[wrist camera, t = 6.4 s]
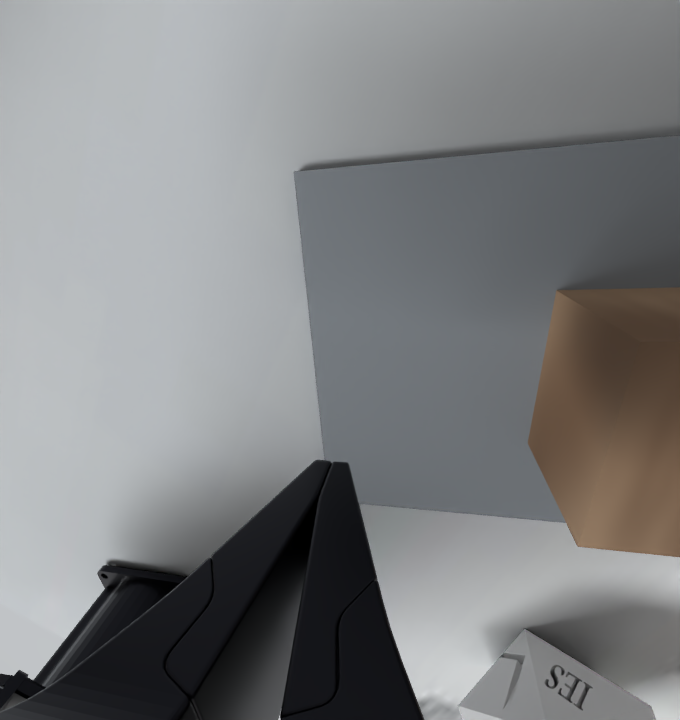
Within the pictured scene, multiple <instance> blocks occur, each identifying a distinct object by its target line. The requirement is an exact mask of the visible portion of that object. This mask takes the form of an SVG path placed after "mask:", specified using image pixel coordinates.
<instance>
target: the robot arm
mask: <svg viewBox="0 0 680 720" xmlns="http://www.w3.org/2000/svg"><path fill="white" fill-rule="evenodd" d="M97 574H98V576H99V578H100V580H101V582H102V584H103V586H104V588H105V590H104V591H103V592H102V593H101V595H100V596H99V597H98V598H97V600H96V601H95V602H94V604H93V605H92V606H91V607H90V609H89V610H88V611H87V613H86V614H85V615H84V616H83V618H82V619H81V620H80V621H79V623H78V624H77V625H76V627H75V628H74V629H73V630H72V632H71V633H70V634H69V636H68V637H67V638H66V639H65V641H64V642H63V643H62V644H61V646H60V647H59V648H58V650H57V651H56V652H55V653H54V655H53V656H52V657H51V659H50V660H49V661H48V662H47V664H46V665H45V666H44V667H43V669H42V670H41V671H40V673H39V674H38V675H37V676H36V678H35V679H34V680H31V679H30V678H28V674H26V673H24V672H22V671H21V670H19V671H18V672H17V673H16V674H15V675H14V676H12V675H11V676H10V675H5V674H0V720H278V718H279V715H280V718H281V720H424V717H423V715H422V712H421V709H420V707H419V704H418V702H417V699H416V696H415V694H414V691H413V688H412V686H411V683H410V681H409V678H408V675H407V673H406V670H405V668H404V665H403V662H402V659H401V657H400V654H399V651H398V648H397V645H396V642H395V639H394V637H393V634H392V631H391V628H390V624H389V621H388V617H387V614H386V610H385V607H384V603H383V599H382V595H381V591H380V587H379V583H378V581H377V575H376V571H375V567H374V563H373V559H372V555H371V551H370V547H369V543H368V539H367V535H366V531H365V527H364V523H363V519H362V514H361V510H360V506H359V502H358V498H357V494H356V490H355V486H354V482H353V478H352V474H351V470H350V466H349V463H348V462H339V461H334V462H331V461H326V460H316V461H314V462H313V463H312V464H311V465H310V466H309V467H307V468H306V469H305V470H304V471H303V472H302V473H301V474H300V475H299V476H298V477H297V478H295V479H294V480H293V481H292V482H291V483H290V484H289V485H288V486H287V487H286V488H285V489H283V490H282V491H281V492H280V493H279V494H278V495H277V496H276V497H275V498H274V499H273V500H271V501H270V502H269V503H268V504H267V505H266V506H265V507H264V508H263V509H262V510H261V511H259V512H258V513H257V514H256V515H255V516H254V517H253V518H252V519H251V520H250V521H249V522H247V523H246V524H245V525H244V526H243V527H242V528H241V529H240V530H239V531H238V532H237V533H235V534H234V535H233V536H232V537H231V538H230V539H229V540H228V541H227V542H226V543H225V544H223V545H222V546H221V547H220V548H219V549H218V550H217V551H216V552H215V553H214V554H213V555H212V559H211V558H208V559H207V560H206V561H205V562H204V563H203V564H201V565H200V566H199V567H198V568H197V569H196V570H195V571H194V572H193V573H192V574H190V575H189V576H188V577H187V578H184V577H181V576H175V575H168V574H162V573H155V572H148V571H141V570H134V569H128V568H121V567H114V566H107V565H104V566H102V568H101V569H100V570H99V571H98V573H97ZM281 708H282V709H281ZM280 711H281V714H280Z"/></svg>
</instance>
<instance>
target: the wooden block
mask: <svg viewBox="0 0 680 720" xmlns="http://www.w3.org/2000/svg"><path fill="white" fill-rule="evenodd" d="M528 445H529V447H530V449H531V451H532V453H533V456H534V458H535V460H536V462H537V464H538V466H539V468H540V470H541V472H542V474H543V476H544V478H545V480H546V482H547V484H548V486H549V488H550V491H551V493H552V495H553V497H554V499H555V501H556V503H557V505H558V507H559V509H560V511H561V513H562V515H563V517H564V519H565V521H566V523H567V526H568V528H569V530H570V532H571V534H572V536H573V538H574V540H575V542H576V544H577V546H578V547H587V548H597V549H606V550H616V551H625V552H635V553H645V554H654V555H664V556H673V557H680V287H675V288H632V289H588V290H556V295H555V300H554V306H553V311H552V316H551V322H550V327H549V332H548V337H547V343H546V348H545V353H544V359H543V364H542V369H541V375H540V380H539V385H538V391H537V396H536V401H535V406H534V412H533V417H532V422H531V428H530V433H529V438H528Z"/></svg>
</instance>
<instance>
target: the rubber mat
mask: <svg viewBox="0 0 680 720" xmlns="http://www.w3.org/2000/svg"><path fill="white" fill-rule="evenodd" d="M294 178H295V188H296V197H297V206H298V216H299V225H300V234H301V244H302V253H303V262H304V272H305V281H306V290H307V300H308V309H309V318H310V328H311V337H312V346H313V356H314V365H315V375H316V384H317V393H318V403H319V412H320V421H321V431H322V440H323V449H324V459H325V460H326V461H331V462H334V461H339V462H348V463H349V466H350V470H351V474H352V478H353V482H354V486H355V490H356V494H357V498H358V502H359V504H369V505H380V506H391V507H402V508H412V509H423V510H434V511H445V512H455V513H466V514H477V515H488V516H498V517H509V518H520V519H531V520H542V521H552V522H563V523H566V521H565V519H564V517H563V515H562V513H561V511H560V509H559V507H558V505H557V503H556V501H555V499H554V497H553V495H552V493H551V491H550V488H549V486H548V484H547V482H546V480H545V478H544V476H543V474H542V472H541V470H540V468H539V466H538V464H537V462H536V460H535V458H534V456H533V453H532V451H531V449H530V447H529V445H528V438H529V433H530V428H531V422H532V417H533V412H534V406H535V401H536V396H537V391H538V385H539V380H540V375H541V369H542V364H543V359H544V353H545V348H546V343H547V337H548V332H549V327H550V322H551V316H552V311H553V306H554V300H555V295H556V290H588V289H632V288H675V287H680V135H675V136H664V137H654V138H643V139H633V140H622V141H612V142H601V143H591V144H580V145H569V146H559V147H548V148H538V149H527V150H517V151H506V152H496V153H485V154H475V155H464V156H453V157H443V158H432V159H422V160H411V161H401V162H390V163H380V164H369V165H358V166H348V167H337V168H327V169H316V170H306V171H295V172H294Z"/></svg>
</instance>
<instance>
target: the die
mask: <svg viewBox="0 0 680 720" xmlns="http://www.w3.org/2000/svg"><path fill="white" fill-rule="evenodd" d="M458 708H459V710H460V713H461V716H462V719H463V720H656V718H655V715H654V713H653V710H652V707H651V706H650V705H648V704H647V703H645V702H643V701H642V700H640V699H639V698H637V697H635V696H634V695H632V694H630V693H629V692H627V691H626V690H624V689H622V688H621V687H619V686H617V685H616V684H614V683H612V682H611V681H609V680H608V679H606V678H604V677H603V676H601V675H599V674H598V673H596V672H594V671H593V670H591V669H590V668H588V667H586V666H585V665H583V664H581V663H580V662H578V661H577V660H575V659H573V658H572V657H570V656H568V655H567V654H565V653H563V652H562V651H560V650H559V649H557V648H555V647H554V646H552V645H550V644H549V643H547V642H545V641H544V640H542V639H541V638H539V637H537V636H536V635H534V634H532V633H531V632H529V631H528V630H526V629H524V630H523V631H522V632H521V633H520V634H519V636H518V637H517V638H516V639H515V640H514V641H513V642H512V644H511V645H510V646H509V647H508V648H507V649H506V651H505V652H504V653H503V655H502V656H501V657H500V658H499V659H498V660H497V661H496V662H495V663H494V664H493V666H492V667H491V668H490V669H489V670H488V671H487V673H486V674H485V675H484V676H483V677H482V678H481V679H480V681H479V682H478V683H477V684H476V685H475V686H474V688H473V689H472V690H471V691H470V692H469V693H468V695H467V696H466V697H465V698H464V699H463V700H462V701H461V703H460V704H459V705H458Z"/></svg>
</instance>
